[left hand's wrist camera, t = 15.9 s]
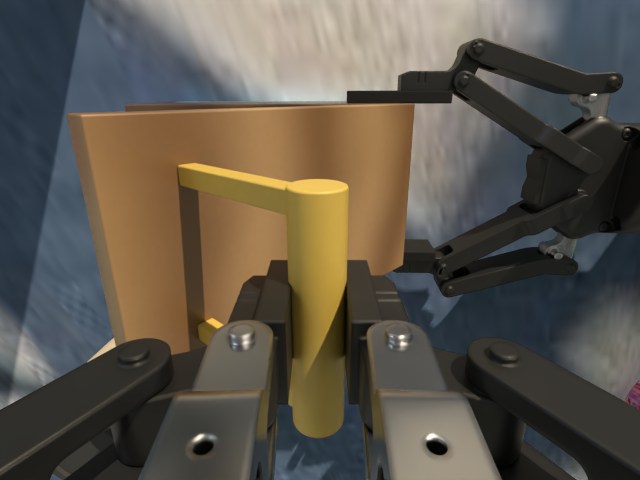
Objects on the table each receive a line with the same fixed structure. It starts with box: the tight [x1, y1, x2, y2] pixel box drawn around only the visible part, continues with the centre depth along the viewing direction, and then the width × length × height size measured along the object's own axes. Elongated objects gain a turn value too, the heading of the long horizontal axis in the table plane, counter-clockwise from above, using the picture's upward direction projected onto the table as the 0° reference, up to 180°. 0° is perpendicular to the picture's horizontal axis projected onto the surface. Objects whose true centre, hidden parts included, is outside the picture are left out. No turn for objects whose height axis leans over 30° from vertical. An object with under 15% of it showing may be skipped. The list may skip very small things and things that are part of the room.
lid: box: [67, 103, 415, 438], centre depth 17 cm, size 18×10×8 cm
